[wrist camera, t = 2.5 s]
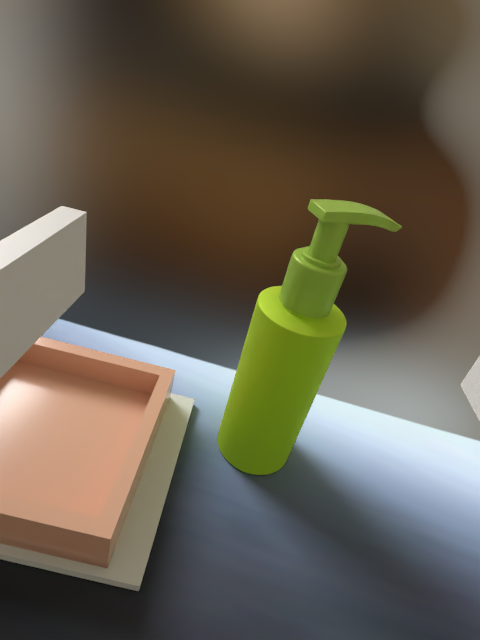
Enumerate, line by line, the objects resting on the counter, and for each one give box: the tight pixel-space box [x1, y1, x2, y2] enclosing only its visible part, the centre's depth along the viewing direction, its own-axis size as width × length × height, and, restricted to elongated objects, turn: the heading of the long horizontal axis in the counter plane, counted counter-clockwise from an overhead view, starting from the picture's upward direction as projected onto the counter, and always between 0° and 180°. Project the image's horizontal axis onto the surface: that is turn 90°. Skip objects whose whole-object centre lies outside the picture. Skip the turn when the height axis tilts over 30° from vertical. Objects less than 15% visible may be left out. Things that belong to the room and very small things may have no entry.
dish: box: [0, 337, 175, 568], centre depth 28 cm, size 14×14×3 cm
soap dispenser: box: [218, 199, 402, 475], centre depth 28 cm, size 6×7×20 cm
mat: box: [0, 393, 195, 591], centre depth 29 cm, size 18×15×1 cm
